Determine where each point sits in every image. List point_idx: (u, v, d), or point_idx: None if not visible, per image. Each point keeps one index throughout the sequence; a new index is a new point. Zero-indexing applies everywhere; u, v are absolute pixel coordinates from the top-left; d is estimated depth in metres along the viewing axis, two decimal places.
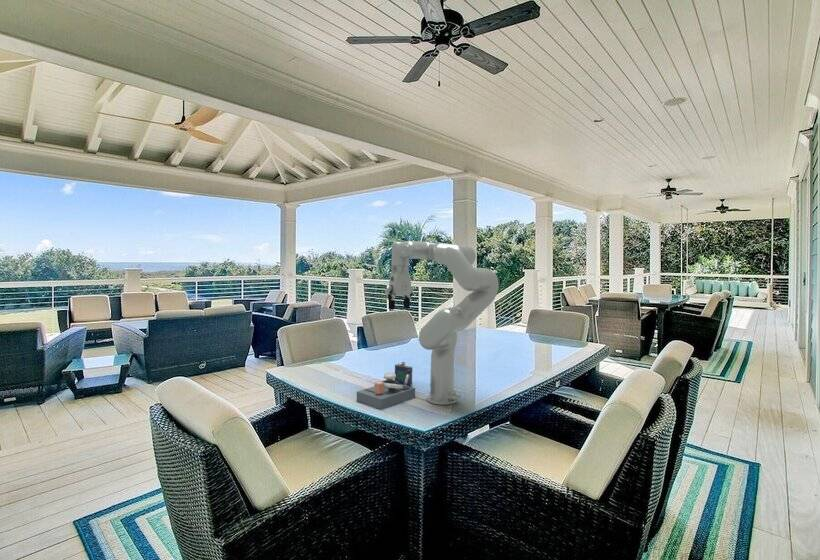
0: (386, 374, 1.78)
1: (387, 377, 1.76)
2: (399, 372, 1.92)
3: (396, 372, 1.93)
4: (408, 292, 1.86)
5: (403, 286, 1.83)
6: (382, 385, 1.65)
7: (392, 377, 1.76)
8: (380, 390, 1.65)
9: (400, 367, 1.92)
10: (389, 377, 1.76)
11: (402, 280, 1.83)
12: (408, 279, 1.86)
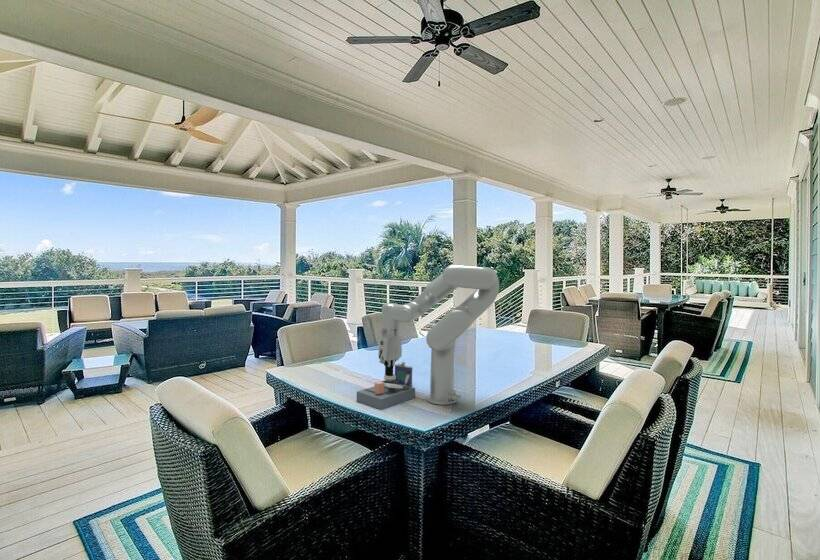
0: (386, 375, 1.78)
1: (387, 378, 1.76)
2: (399, 372, 1.92)
3: (396, 372, 1.93)
4: (398, 355, 1.78)
5: (393, 350, 1.75)
6: (382, 385, 1.65)
7: (392, 378, 1.76)
8: (380, 390, 1.65)
9: (400, 367, 1.92)
10: (389, 378, 1.76)
11: (392, 344, 1.75)
12: (399, 342, 1.78)
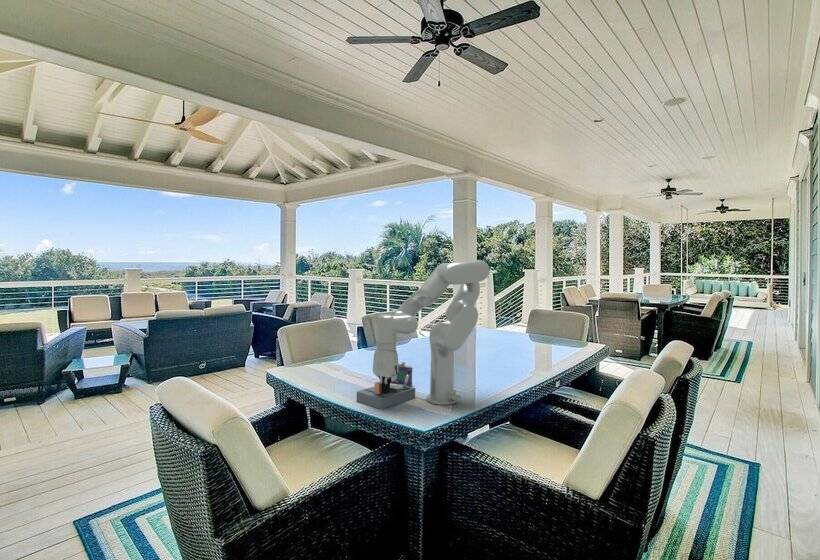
0: None
1: None
2: (399, 372, 1.92)
3: None
4: (386, 374, 1.59)
5: (380, 365, 1.61)
6: None
7: None
8: (380, 390, 1.65)
9: (400, 367, 1.92)
10: None
11: (378, 358, 1.62)
12: (386, 359, 1.59)
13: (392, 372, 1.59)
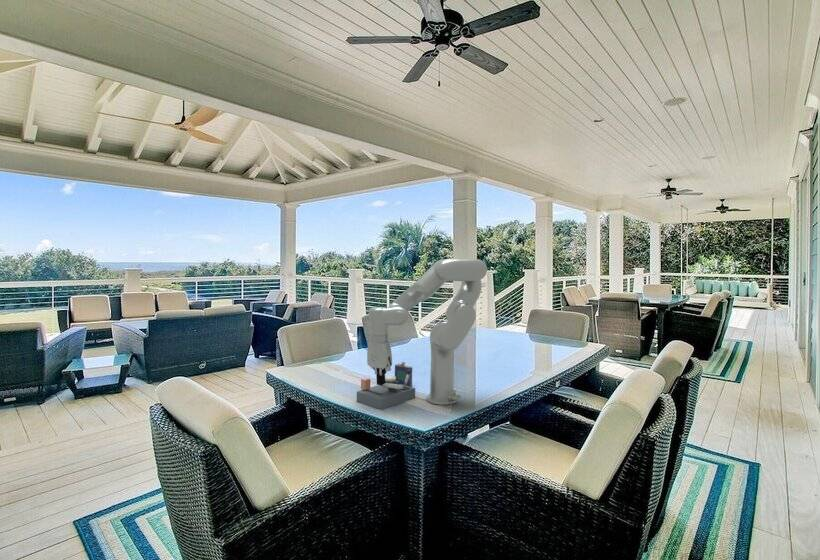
0: (386, 377, 1.78)
1: (387, 380, 1.76)
2: (399, 372, 1.92)
3: (396, 372, 1.93)
4: (380, 365, 1.62)
5: (374, 357, 1.64)
6: (368, 381, 1.71)
7: (392, 380, 1.76)
8: (366, 386, 1.70)
9: (400, 367, 1.92)
10: (389, 380, 1.76)
11: (372, 350, 1.65)
12: (379, 350, 1.62)
13: (386, 363, 1.62)
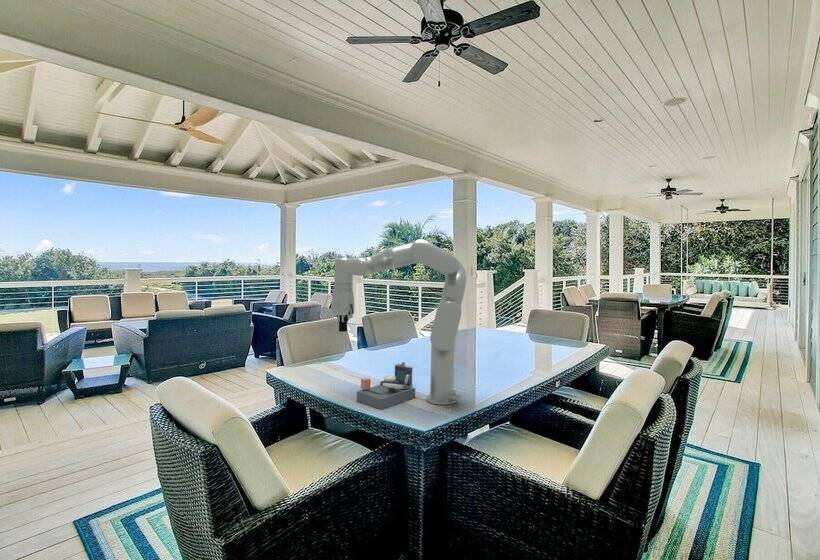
0: (386, 377, 1.78)
1: (387, 380, 1.76)
2: (399, 372, 1.92)
3: (396, 372, 1.93)
4: (342, 312, 1.71)
5: (337, 304, 1.73)
6: (368, 381, 1.71)
7: (392, 380, 1.76)
8: (366, 386, 1.70)
9: (400, 367, 1.92)
10: (389, 380, 1.76)
11: (336, 297, 1.73)
12: (342, 298, 1.71)
13: (348, 310, 1.70)
